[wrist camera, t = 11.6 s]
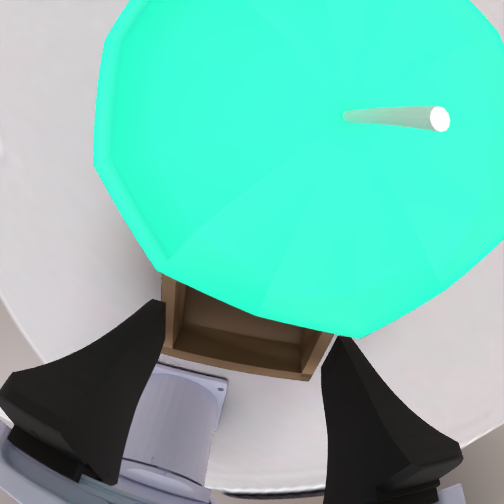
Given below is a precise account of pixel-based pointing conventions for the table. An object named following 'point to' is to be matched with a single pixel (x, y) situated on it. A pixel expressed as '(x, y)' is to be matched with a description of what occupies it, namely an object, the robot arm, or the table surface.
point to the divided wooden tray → (236, 336)
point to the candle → (306, 150)
